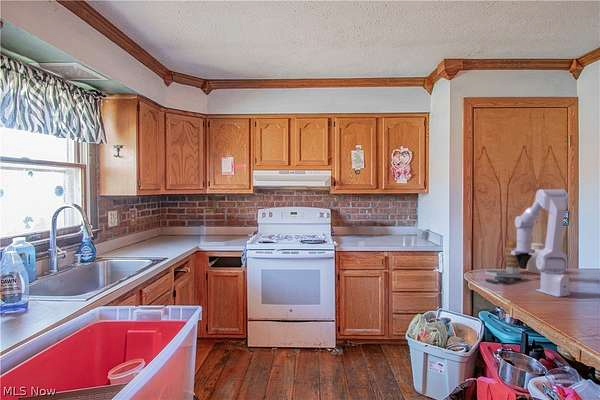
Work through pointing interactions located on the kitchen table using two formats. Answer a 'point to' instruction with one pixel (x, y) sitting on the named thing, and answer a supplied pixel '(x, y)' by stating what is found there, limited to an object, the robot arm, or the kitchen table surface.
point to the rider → (512, 270)
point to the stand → (503, 279)
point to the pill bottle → (534, 258)
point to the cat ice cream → (510, 259)
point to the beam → (502, 273)
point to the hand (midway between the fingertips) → (522, 268)
